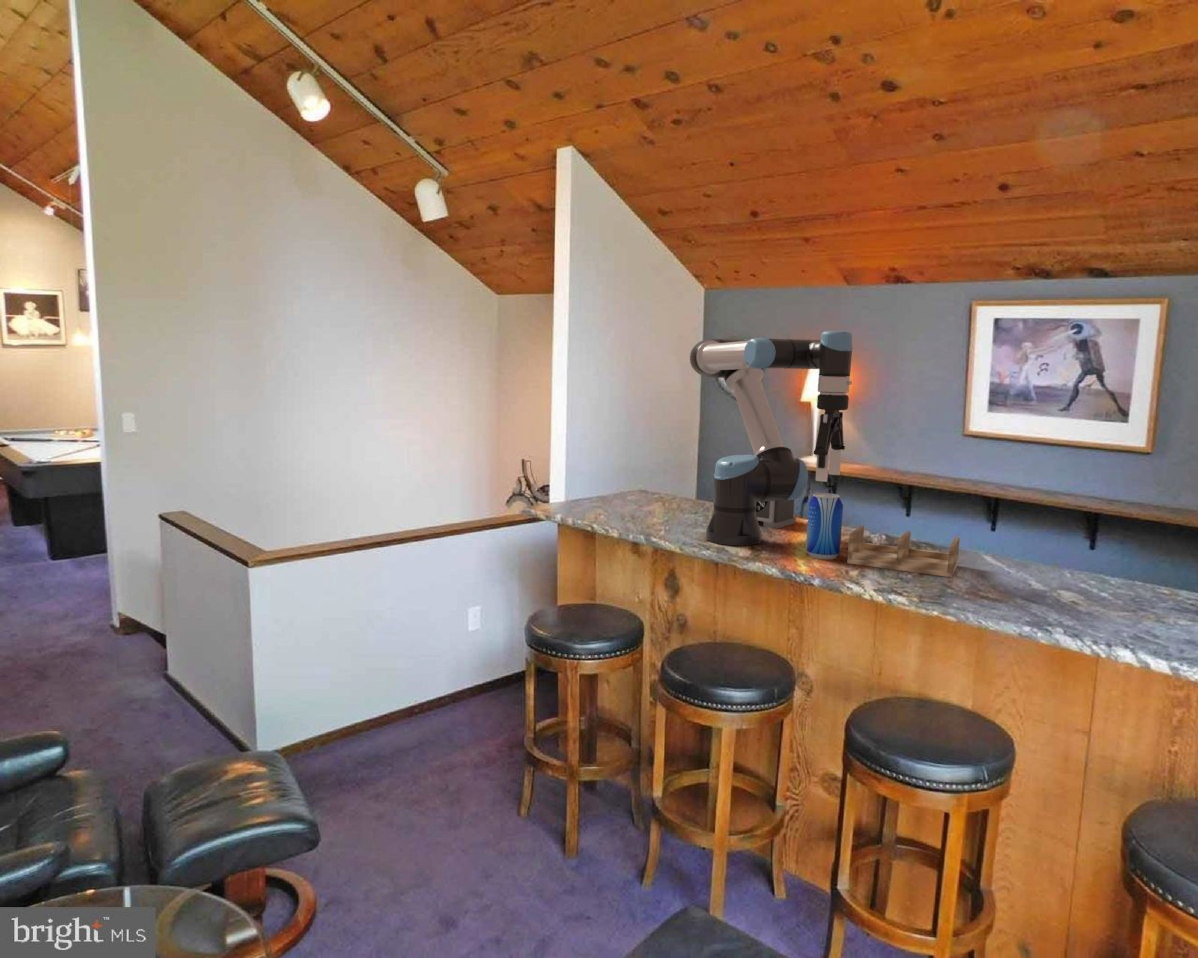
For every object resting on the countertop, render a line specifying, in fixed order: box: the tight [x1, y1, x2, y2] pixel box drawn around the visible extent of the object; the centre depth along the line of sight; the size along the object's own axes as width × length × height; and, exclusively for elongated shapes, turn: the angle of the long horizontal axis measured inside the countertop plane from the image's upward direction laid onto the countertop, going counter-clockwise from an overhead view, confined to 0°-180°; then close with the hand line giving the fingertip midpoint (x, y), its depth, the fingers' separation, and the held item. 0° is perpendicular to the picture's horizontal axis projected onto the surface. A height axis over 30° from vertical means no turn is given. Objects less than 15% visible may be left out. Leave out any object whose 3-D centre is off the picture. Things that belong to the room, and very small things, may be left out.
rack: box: [846, 525, 961, 578], centre depth 199 cm, size 24×13×7 cm, turn 61°
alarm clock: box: [756, 499, 797, 529], centre depth 248 cm, size 18×13×18 cm
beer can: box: [805, 492, 844, 560], centre depth 205 cm, size 8×8×16 cm
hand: (827, 478), depth 203 cm, fingers open, 13 cm apart
